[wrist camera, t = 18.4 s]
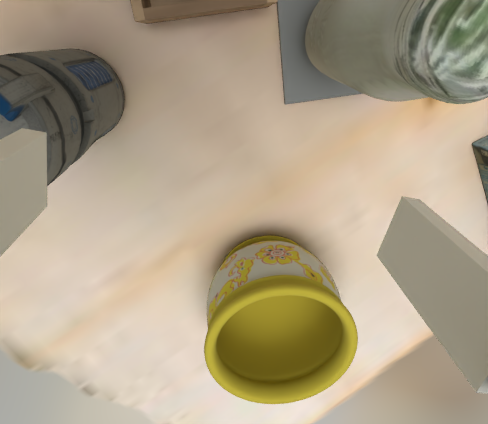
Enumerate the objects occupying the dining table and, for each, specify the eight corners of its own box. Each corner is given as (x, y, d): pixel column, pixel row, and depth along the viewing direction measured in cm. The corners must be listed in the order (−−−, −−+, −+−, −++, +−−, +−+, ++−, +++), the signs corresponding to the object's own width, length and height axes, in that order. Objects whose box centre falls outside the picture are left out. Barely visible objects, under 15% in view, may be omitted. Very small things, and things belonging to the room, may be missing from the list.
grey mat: (274, -26, 41) (275, -26, 41) (399, -43, 42) (401, -44, 41) (284, 103, 47) (285, 104, 47) (393, 88, 48) (395, 88, 47)
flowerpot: (250, 334, 63) (261, 425, 49) (183, 262, 56) (171, 343, 42) (343, 280, 60) (384, 360, 45) (282, 197, 53) (308, 259, 38)
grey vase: (314, -27, 41) (471, -129, 16) (396, 4, 43) (653, -41, 18) (284, 65, 45) (371, 102, 20) (360, 90, 47) (530, 154, 22)
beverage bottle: (9, 101, 45) (-199, 166, 23) (83, 24, 42) (-71, 9, 20) (75, 163, 49) (-45, 271, 26) (148, 95, 46) (82, 152, 23)
